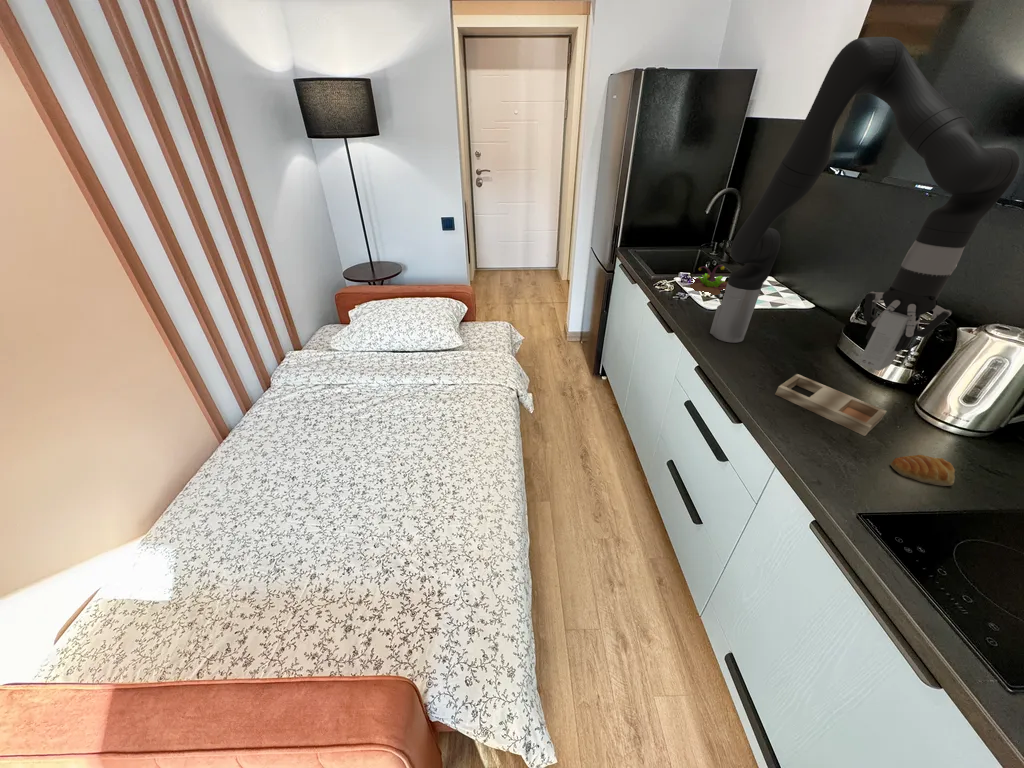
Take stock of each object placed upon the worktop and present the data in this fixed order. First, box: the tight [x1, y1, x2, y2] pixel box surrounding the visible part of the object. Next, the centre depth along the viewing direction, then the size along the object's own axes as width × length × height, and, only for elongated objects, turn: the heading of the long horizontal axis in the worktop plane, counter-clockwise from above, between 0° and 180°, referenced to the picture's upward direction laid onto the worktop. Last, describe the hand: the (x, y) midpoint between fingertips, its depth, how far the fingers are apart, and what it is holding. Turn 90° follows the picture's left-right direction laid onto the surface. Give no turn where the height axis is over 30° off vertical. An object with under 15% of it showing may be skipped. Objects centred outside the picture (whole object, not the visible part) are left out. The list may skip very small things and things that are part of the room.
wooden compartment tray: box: [774, 373, 888, 437], centre depth 103 cm, size 20×10×2 cm, turn 36°
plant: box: [690, 264, 728, 295], centre depth 163 cm, size 20×20×11 cm
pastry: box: [890, 454, 956, 487], centre depth 84 cm, size 9×7×4 cm
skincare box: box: [858, 311, 909, 371], centre depth 89 cm, size 6×4×12 cm
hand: (884, 345), depth 90 cm, fingers closed on skincare box, 4 cm apart
